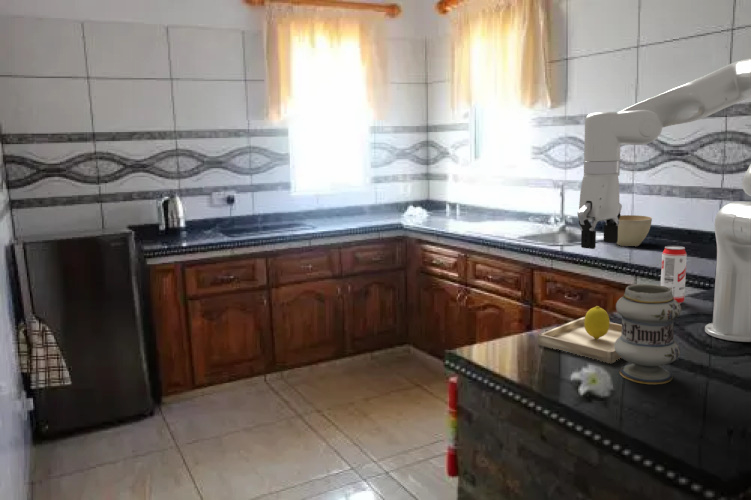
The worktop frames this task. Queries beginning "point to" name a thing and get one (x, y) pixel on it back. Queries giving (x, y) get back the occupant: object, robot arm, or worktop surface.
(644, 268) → the worktop surface
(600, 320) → the lemon
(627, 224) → the beige bowl
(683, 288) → the beer can
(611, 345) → the birch tray
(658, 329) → the apothecary jar
